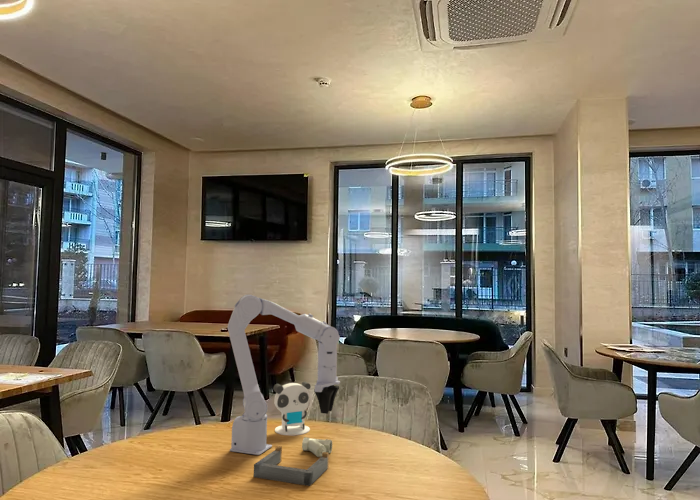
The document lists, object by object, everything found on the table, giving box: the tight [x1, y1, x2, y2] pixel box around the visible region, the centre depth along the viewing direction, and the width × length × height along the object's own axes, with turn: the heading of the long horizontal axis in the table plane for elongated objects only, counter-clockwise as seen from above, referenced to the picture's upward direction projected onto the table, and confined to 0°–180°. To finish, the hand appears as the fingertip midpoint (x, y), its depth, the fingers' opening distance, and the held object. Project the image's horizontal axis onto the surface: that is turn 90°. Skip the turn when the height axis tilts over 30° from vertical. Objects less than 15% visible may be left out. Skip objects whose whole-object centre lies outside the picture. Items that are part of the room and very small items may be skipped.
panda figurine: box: [273, 381, 311, 436], centre depth 158 cm, size 12×11×15 cm
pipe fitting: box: [301, 437, 333, 458], centre depth 136 cm, size 8×4×7 cm
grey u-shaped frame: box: [253, 445, 330, 487], centre depth 122 cm, size 15×12×4 cm
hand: (326, 411), depth 145 cm, fingers closed
